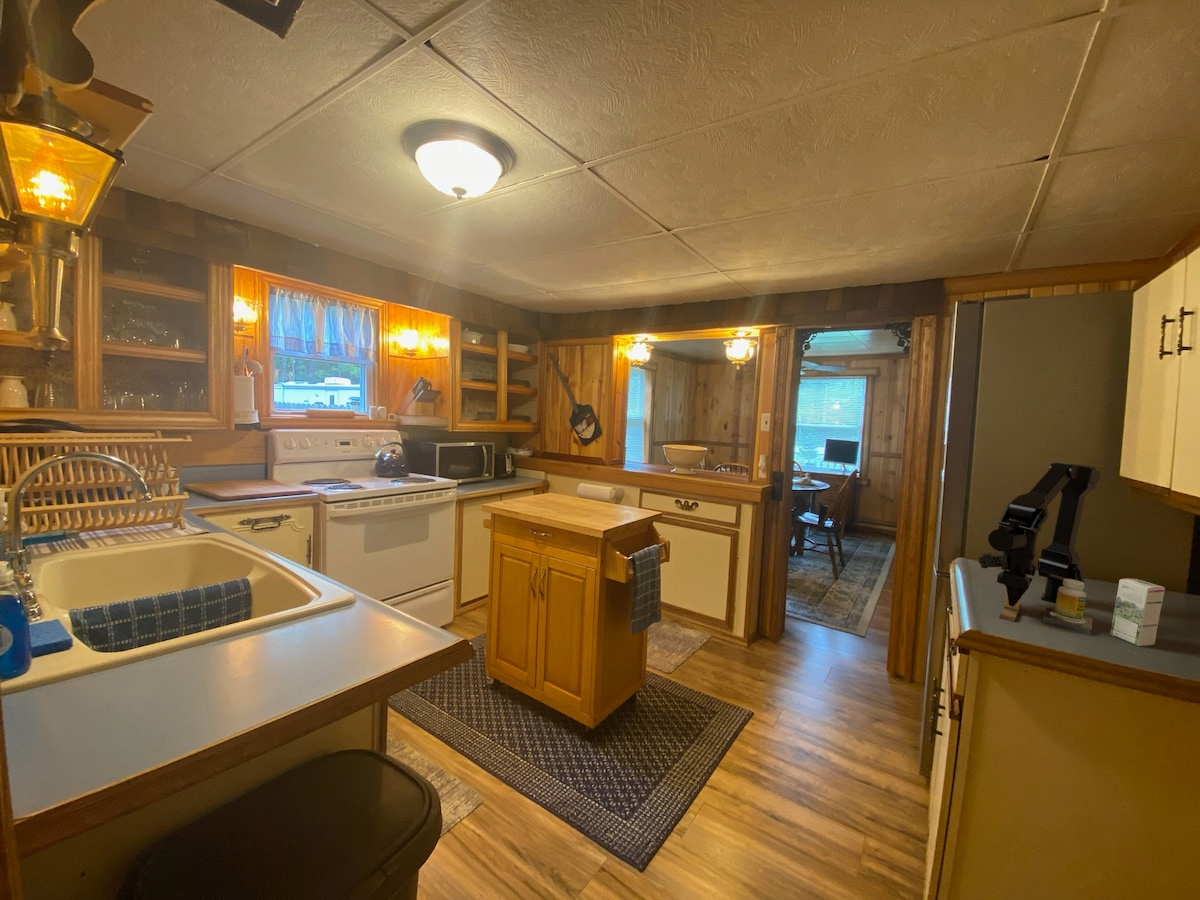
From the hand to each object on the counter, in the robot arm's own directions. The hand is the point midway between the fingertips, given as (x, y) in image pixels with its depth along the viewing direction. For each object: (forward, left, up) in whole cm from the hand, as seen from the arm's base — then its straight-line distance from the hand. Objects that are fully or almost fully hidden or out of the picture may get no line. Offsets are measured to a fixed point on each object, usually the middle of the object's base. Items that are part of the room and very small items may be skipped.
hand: (1012, 604), depth 136 cm
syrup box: (-3, +23, -2) cm, 23 cm away
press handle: (0, 0, -1) cm, 1 cm away
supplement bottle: (-3, +11, -1) cm, 11 cm away
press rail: (+1, 0, -2) cm, 2 cm away
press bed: (-3, +11, -2) cm, 12 cm away
